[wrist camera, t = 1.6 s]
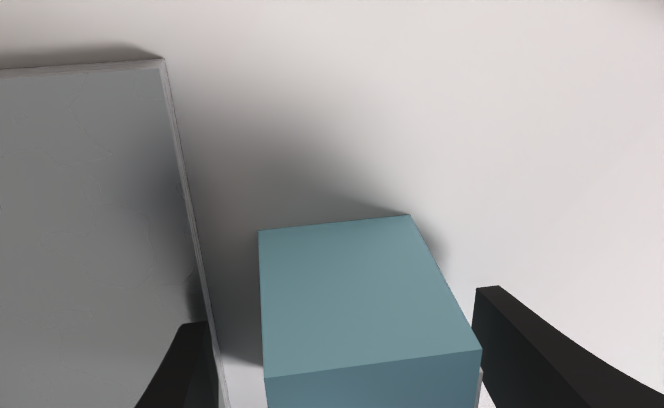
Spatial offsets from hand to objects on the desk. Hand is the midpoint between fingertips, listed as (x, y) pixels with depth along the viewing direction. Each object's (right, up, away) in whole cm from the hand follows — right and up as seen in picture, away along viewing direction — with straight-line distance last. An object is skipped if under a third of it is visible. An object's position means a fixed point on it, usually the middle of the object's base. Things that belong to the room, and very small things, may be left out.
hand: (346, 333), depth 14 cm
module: (0, +1, +1) cm, 2 cm away
